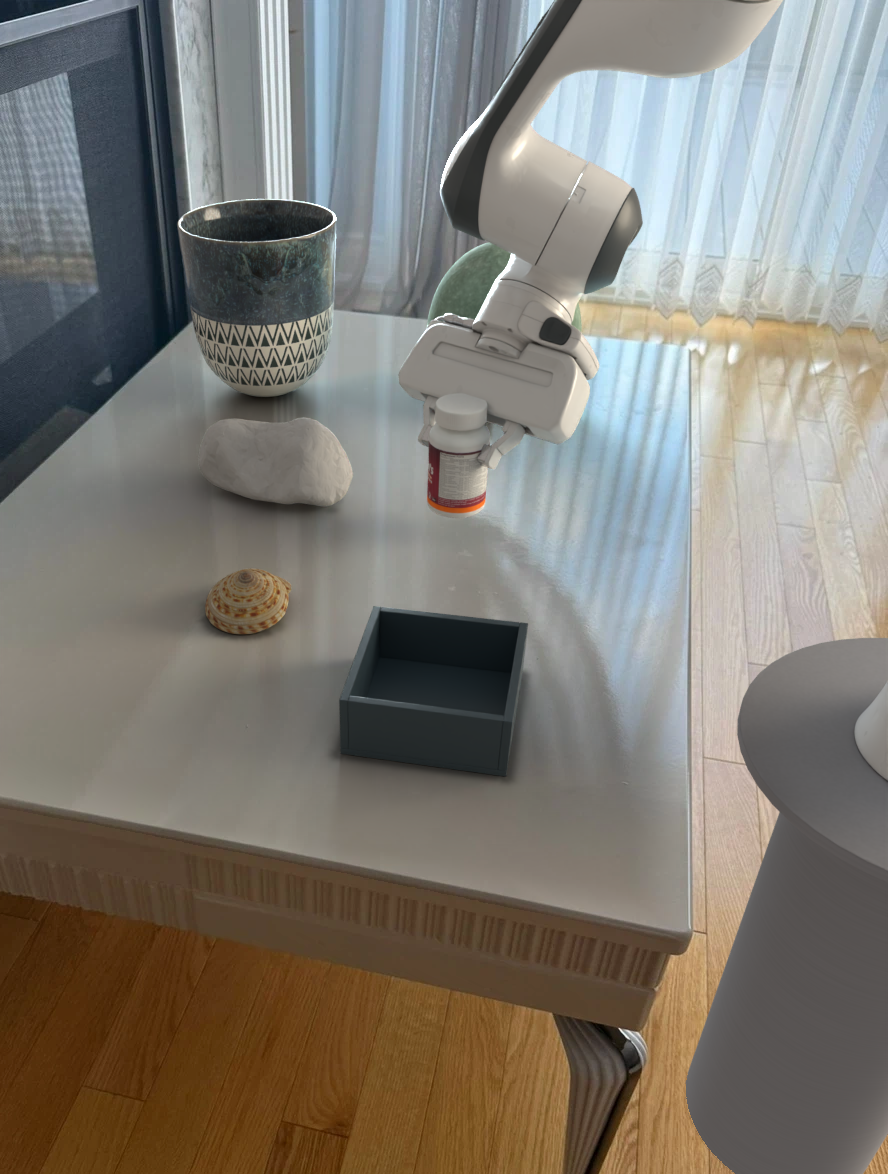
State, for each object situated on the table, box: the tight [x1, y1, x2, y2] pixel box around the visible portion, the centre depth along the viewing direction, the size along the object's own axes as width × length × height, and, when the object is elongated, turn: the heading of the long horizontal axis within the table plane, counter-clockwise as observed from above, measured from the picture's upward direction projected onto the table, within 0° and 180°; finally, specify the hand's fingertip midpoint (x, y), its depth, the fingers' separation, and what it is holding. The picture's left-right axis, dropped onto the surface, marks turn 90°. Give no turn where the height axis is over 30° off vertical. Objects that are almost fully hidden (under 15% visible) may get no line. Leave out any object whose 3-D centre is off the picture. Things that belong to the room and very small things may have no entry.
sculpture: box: [426, 241, 583, 334], centre depth 132 cm, size 19×16×20 cm
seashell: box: [204, 568, 292, 635], centre depth 100 cm, size 8×6×8 cm
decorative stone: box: [197, 416, 354, 508], centre depth 117 cm, size 17×10×10 cm
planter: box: [176, 198, 337, 398], centre depth 135 cm, size 20×20×21 cm
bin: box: [338, 605, 529, 777], centre depth 87 cm, size 13×13×6 cm
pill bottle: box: [426, 393, 491, 519], centre depth 107 cm, size 6×6×11 cm
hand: (455, 455), depth 106 cm, fingers closed on pill bottle, 6 cm apart
